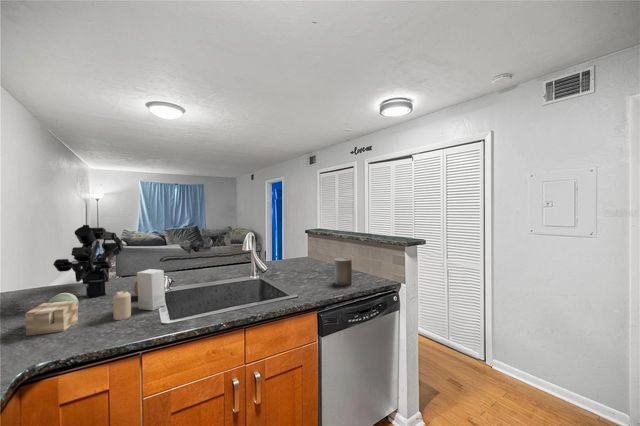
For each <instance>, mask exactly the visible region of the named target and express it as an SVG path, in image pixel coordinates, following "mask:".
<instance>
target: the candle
mask: <svg viewBox="0 0 640 426" xmlns="http://www.w3.org/2000/svg"><path fill="white" fill-rule="evenodd" d="M131 297H132V294H131V293H130V292H128V291H127V290H121V291H117V292H116V293H115V294H114V295H113V297H112V306H113V310H112V311H113V312H112V313H113V314H112V315H113V320H114V321H122V320H126V319H129V318H130V317H131V316H132V301H131V299H132V298H131Z"/></svg>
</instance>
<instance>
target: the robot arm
mask: <svg viewBox="0 0 640 426" xmlns="http://www.w3.org/2000/svg"><path fill="white" fill-rule="evenodd" d="M106 230H107V229H105V227H90V225H89V224H82V226H81V227H79V228H77V229H76V230H74V235H75V237H76V239H77V240H78V242H79V243H80V244H81V246H80V247H79V246H78V247H77V246H76V247H72V249H71V254H70V255H71V256H73V260H71V261H70V260H69V259H68V258H59V259H55V260H54V261H53V264H52V265H53V267H55V269H56V270H57V271H58V272H69V271H71V270H72V271H73V273H74V276H75V282H76V283H80V282H81V281H82V284H83V285H86V286H85V296H86V297H87V298H88V299H91V298H97V297H102V296H107V293H106V283H108V282H109V279H110V275H109V273H108V271H107V270H109V269H111V268H112V259H113V258H114V257H115V256H118V255H120V254H121V253H122V252H123V250H124V244H123V241H122V239H120V237H119V236H117V233H115V232H111V231H106ZM99 240H101V241H102V240H103V241H102V243H101V245H100V241H99ZM106 241H114V242H106ZM100 247H101V248H102V251H103V252H102V253H101V255H100V256H99V257H97V252H98V249H99V248H100ZM95 258H96V260H95Z"/></svg>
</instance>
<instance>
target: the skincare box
mask: <svg viewBox="0 0 640 426" xmlns="http://www.w3.org/2000/svg"><path fill="white" fill-rule="evenodd" d="M164 275H165V273H164V269H155V268H154V269H153V268H148V269H145V270H141V271H137V272H136V281H137V286H138V295H137V300H138V301H137V302H138V309H140V310H146V311H155V310H158V309H160V308H159V307H161V306H163V307H164V305H165V306H166V294H165V292H166V291H165V276H164ZM161 308H162V307H161Z"/></svg>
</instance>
